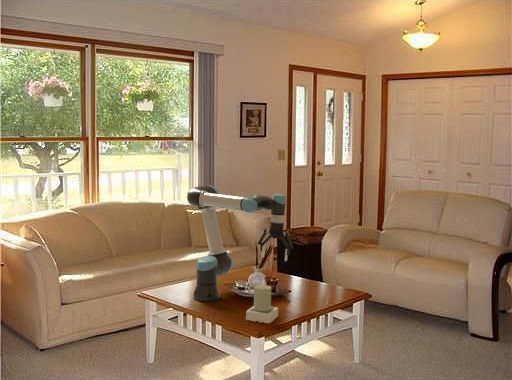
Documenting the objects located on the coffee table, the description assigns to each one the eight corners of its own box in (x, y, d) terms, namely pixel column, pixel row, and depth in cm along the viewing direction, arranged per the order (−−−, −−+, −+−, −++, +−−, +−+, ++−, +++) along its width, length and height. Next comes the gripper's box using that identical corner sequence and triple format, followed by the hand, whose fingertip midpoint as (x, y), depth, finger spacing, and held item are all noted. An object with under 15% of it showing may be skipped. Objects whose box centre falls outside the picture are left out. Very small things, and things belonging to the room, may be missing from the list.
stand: (246, 319, 324) (246, 310, 324) (255, 312, 336) (255, 303, 336) (269, 323, 319) (269, 314, 319) (277, 316, 332) (278, 307, 331)
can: (256, 311, 322) (256, 289, 320) (251, 306, 331) (251, 284, 329) (273, 310, 324) (273, 288, 323) (268, 305, 333) (268, 283, 332)
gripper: (254, 220, 350) (251, 256, 352) (296, 225, 342) (293, 263, 344) (258, 218, 357) (255, 254, 359) (300, 223, 349) (297, 260, 351)
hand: (274, 259), depth 352 cm, fingers open, 13 cm apart
